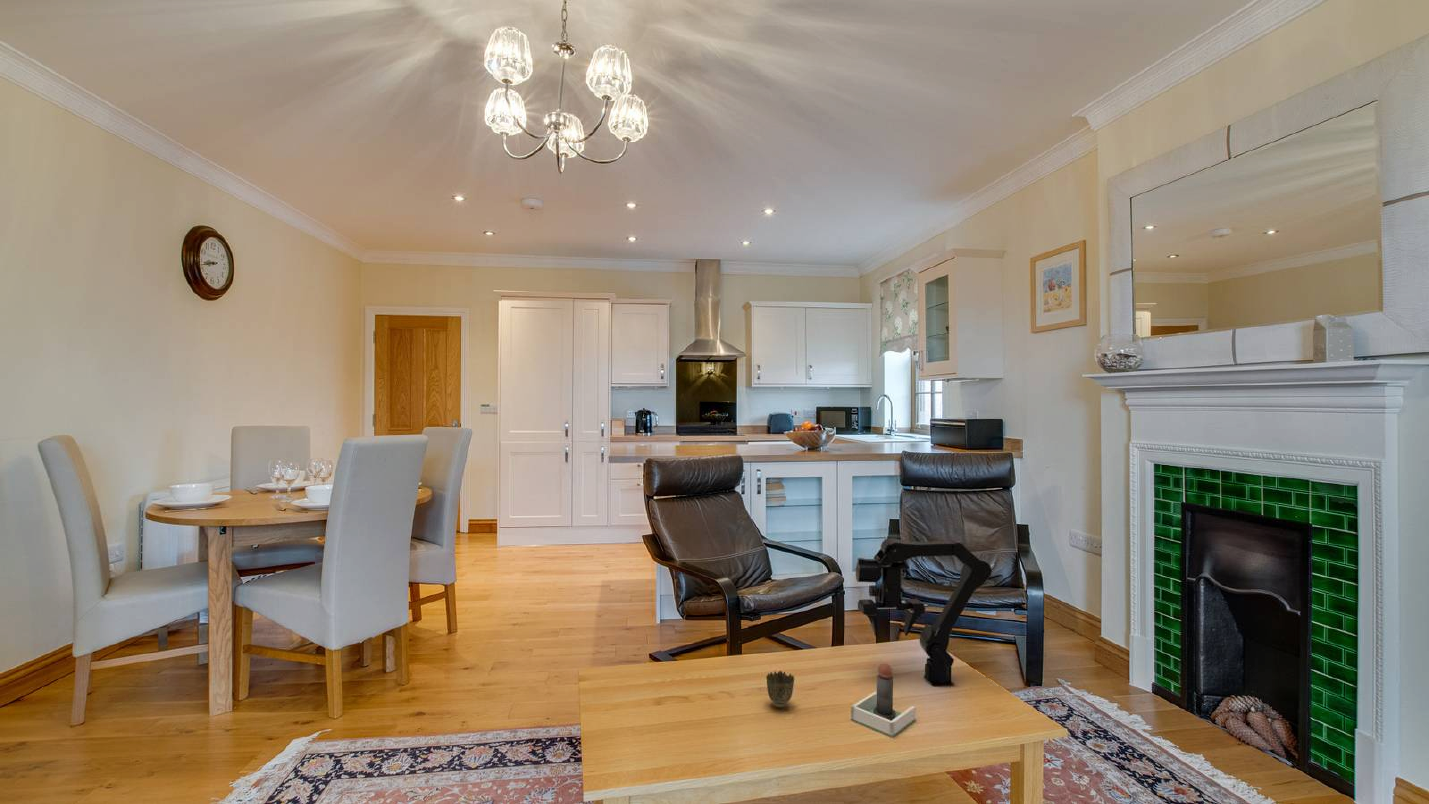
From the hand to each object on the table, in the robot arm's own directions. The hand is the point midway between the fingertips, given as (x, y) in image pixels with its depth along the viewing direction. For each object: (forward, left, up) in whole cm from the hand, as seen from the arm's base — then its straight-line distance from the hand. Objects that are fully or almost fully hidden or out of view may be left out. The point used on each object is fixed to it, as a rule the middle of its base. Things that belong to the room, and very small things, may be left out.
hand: (890, 635), depth 184 cm
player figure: (+10, +23, -12) cm, 28 cm away
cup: (+36, +14, -13) cm, 41 cm away
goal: (+11, +23, -13) cm, 28 cm away
